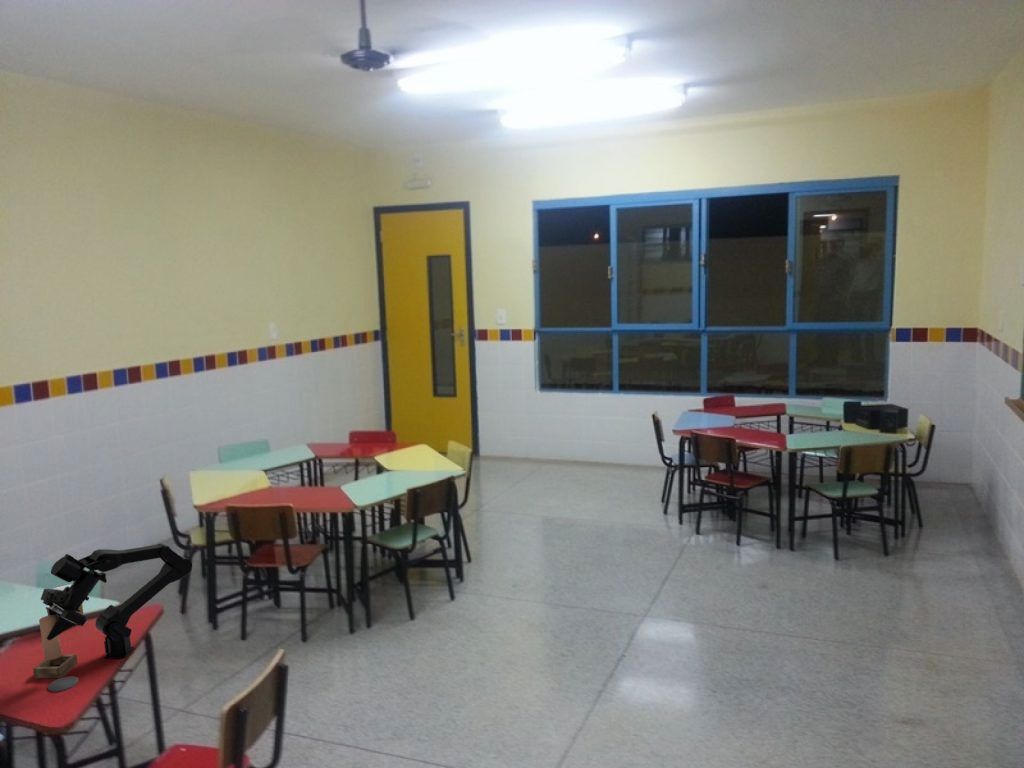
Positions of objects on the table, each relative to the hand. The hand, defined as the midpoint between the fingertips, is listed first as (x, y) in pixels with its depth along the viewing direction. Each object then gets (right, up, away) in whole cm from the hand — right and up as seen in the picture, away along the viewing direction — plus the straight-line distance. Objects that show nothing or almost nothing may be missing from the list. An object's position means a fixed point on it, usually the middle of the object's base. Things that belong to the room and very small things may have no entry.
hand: (45, 637), depth 222 cm
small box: (-16, -9, +40) cm, 44 cm away
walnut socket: (-1, -13, +7) cm, 15 cm away
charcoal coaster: (+6, -14, -1) cm, 15 cm away
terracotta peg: (+1, -6, +2) cm, 7 cm away
